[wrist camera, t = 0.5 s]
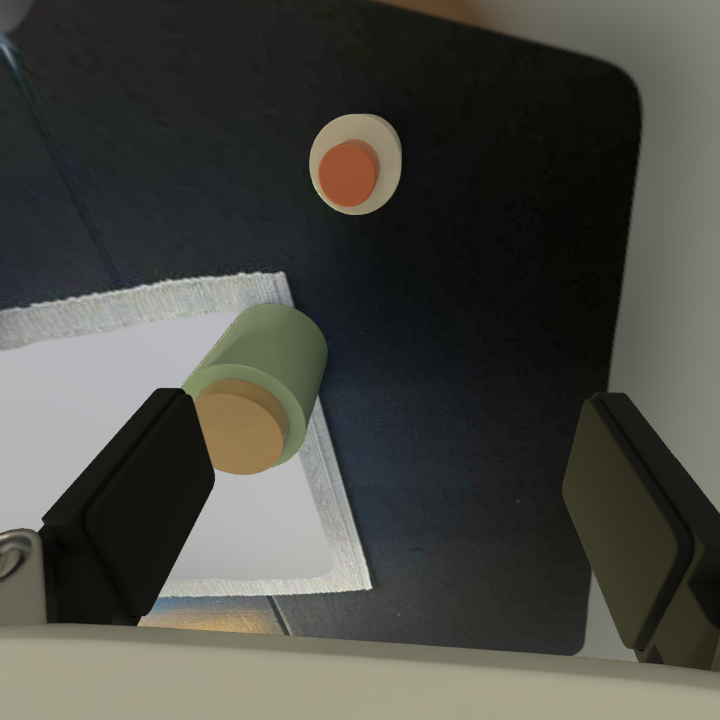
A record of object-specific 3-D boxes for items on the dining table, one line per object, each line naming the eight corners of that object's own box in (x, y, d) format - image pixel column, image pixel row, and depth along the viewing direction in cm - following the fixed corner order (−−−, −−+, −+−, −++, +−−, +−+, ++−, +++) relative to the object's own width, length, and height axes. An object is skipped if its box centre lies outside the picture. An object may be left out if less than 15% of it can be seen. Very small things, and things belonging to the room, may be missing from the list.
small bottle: (318, 134, 26) (273, 145, 17) (385, 99, 25) (375, 92, 16) (348, 204, 28) (322, 247, 19) (412, 174, 27) (416, 206, 18)
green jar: (208, 325, 34) (135, 403, 24) (298, 287, 31) (255, 358, 22) (260, 404, 37) (213, 499, 28) (344, 375, 35) (324, 468, 26)
